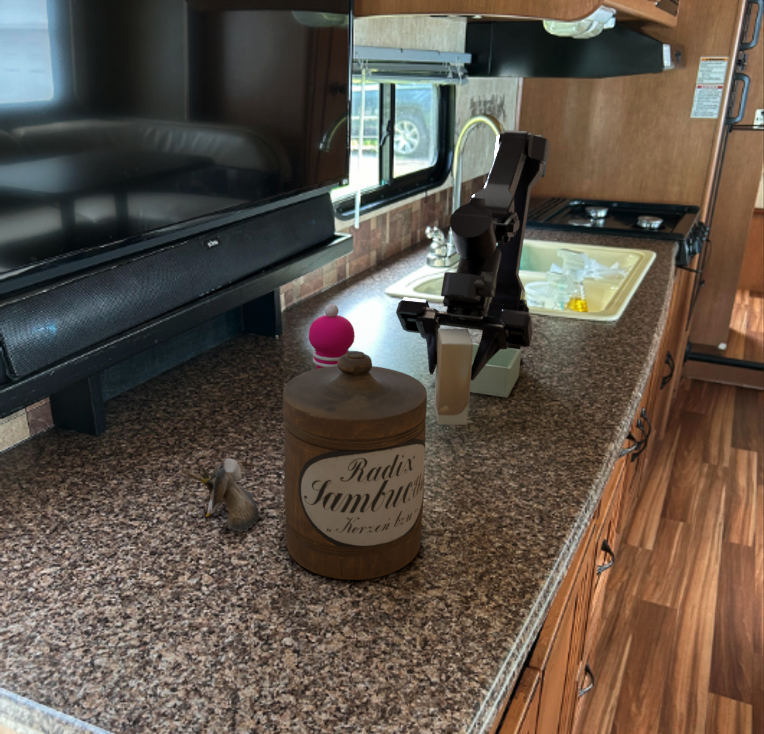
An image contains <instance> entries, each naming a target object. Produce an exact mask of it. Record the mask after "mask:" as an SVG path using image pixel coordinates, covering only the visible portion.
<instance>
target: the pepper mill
mask: <svg viewBox="0 0 764 734" xmlns="http://www.w3.org/2000/svg"><path fill="white" fill-rule="evenodd" d="M355 337H356V336H355V329H354V326H353V324H352V323H351V321H350V320H349V319H348V318H346V317H344V316H342V315H339V307H338V306H337V305H336V304H334V303H329V304H327V305H326V306H325V308H324V315H321V316H319V317H317V318H316V319H315V320H313V322H312V323H311V324H310V326H309V329H308V340H309V343H310V345H311V347H312V348H313V349H314V350H313V351H312V356H313V358H312V362H313V364H314V365H315V366H316V367H315V368H316V369H319V368H324V367H330V366H337V363H338V360H339V358H340V357H341V356H342V355H344V354H346V353H347V352H349V351H350V348H351V347H352V346H353V344H354V342H355Z"/></svg>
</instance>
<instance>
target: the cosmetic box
mask: <svg viewBox="0 0 764 734" xmlns="http://www.w3.org/2000/svg"><path fill="white" fill-rule="evenodd" d="M473 343H474V342H473V339H472V336H471V334H470V330H469V329H468V328H439V329H438V344H437V364H436V368H435V376H436V384H435V383H434V406H433V408H434V415H435V419H436V420H435V421H436V423H437V425H441V426H442V425H447V426H448V425H451V426H453V425H454V426H455V425H457V426H460V425H461V426H462V425H463V426H467V425H468V423H469V409H470V395H471V392H470V382H471V368H472V355H473Z"/></svg>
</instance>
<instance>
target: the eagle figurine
mask: <svg viewBox="0 0 764 734" xmlns="http://www.w3.org/2000/svg"><path fill="white" fill-rule="evenodd" d="M240 469H241V467H240V465H239V463H238V461H236V460H235V459H233V458H227V457H226V458H225V459H224V460H223V464H221V465H220V469H219V465H218V464H215V468H214V471H213V473H212V474H211V476H209V473H208V471H207V469H206V468H205V466H201V468H200V470H199V474H197V473H194V472H192V471H190V470H189V469H188V468H183V469H182V471H183V472H184V473H185V475H186V476H188V477H189V478H191V479H193V480H196V481H198V482H200V483H201V484H203V485H204V487H206V488H207V490H208V492H209V493H210V495H209V496H210V497H209V502H208V507H207V512H206V515H205V517H206V518H208V517H210V515H212V514H214V513H215V512H216V510H217V508H218V506H219V504H220V503H222V502H223V503H225V505H226V507H227V508H226V509H227V511H228V518H227V526H228V529H229V530H232V531H234V532H237V531H238V532H239V533H243V532H247V531H249V529H252V528H253V526H254V525H256V524H257V521H258V520H259V518H260V516H259V515H260V511H259V507H258V505H257V503H256V502H255V499H254V497H253V496H252V495H251V493H250V492H249V491H247V489H245V488H244V487H242V486H241V485H240V484H238V483H237V482H238V481H240V480H241V479H242V472H241V470H240Z"/></svg>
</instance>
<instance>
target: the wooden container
mask: <svg viewBox="0 0 764 734" xmlns="http://www.w3.org/2000/svg"><path fill="white" fill-rule="evenodd" d="M427 406H428V391H427V388H426V387H425V386H424V384H423V383H422V382H421V381H419V380H418V379H417V378H415V377H413V376H411V375H409V374H407V373H405V372H402V371H399V370H395V369H391V368H387V367H381V366H375V365H373V362H372V358H371V356H369V355H368V354H366V353H365V352H363V351H359V350H349V352H347V353H346V354H344V355H342V356H341V357H340V358H339V360H338V363H337V366H330V367H324V368H319V369H312V370H308V371H305V372H302V373H301V374H298V375H297V376H294V377H293V378H292V379H291V380H289V381H288V382H287V383H286V384H285V386H284V388H283V392H282V414H283V415H282V418H283V423H284V424H283V425H284V428H283V430H284V432H283V433H284V474H283V475H284V482H283V483H284V485H283V486H284V487H283V491H284V493H283V495H284V497H283V499H284V514H285V520H284V521H285V523H284V524H285V543H286V549H287V551H288V553H289V555H290V557H291V558H292V559H293V561H295V562H296V563H297V564H298V565H300V566H301V567H303V568H304V569H305V570H308V571H310V572H312V573H314V574H317V575H320V576H323V577H327V578H331V579H337V580H346V581H348V580H349V581H358V580H359V581H360V580H370V579H374V578H379V577H384V576H388V575H390V574H393V573H395V572H397V571H399V570H401V569H402V568H404V567H406V566H407V565H409V564H410V563H411V562H412V561H413V560H414V558H416V557H417V554H418V553H419V550H420V548H421V543H422V542H421V540H422V528H423V527H422V526H423V514H424V513H423V512H424V501H425V500H424V499H425V498H424V497H425V496H424V495H425V474H426V473H425V472H426V471H425V467H426V465H425V463H426V462H425V461H426V437H427V436H426V434H427V433H426V432H427V430H426V429H427V424H426V420H427Z"/></svg>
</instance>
